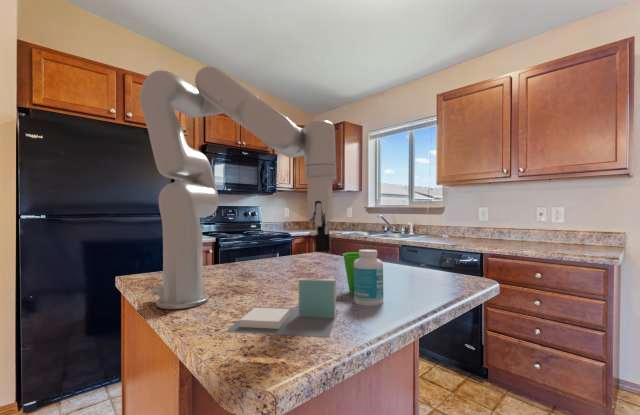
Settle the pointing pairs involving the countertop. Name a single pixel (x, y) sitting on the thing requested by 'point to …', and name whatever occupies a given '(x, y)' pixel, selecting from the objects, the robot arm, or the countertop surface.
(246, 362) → the countertop surface
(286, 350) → the countertop surface
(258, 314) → the tile
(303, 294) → the tile
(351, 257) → the cup
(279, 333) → the mat
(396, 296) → the countertop surface
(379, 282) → the pill bottle
